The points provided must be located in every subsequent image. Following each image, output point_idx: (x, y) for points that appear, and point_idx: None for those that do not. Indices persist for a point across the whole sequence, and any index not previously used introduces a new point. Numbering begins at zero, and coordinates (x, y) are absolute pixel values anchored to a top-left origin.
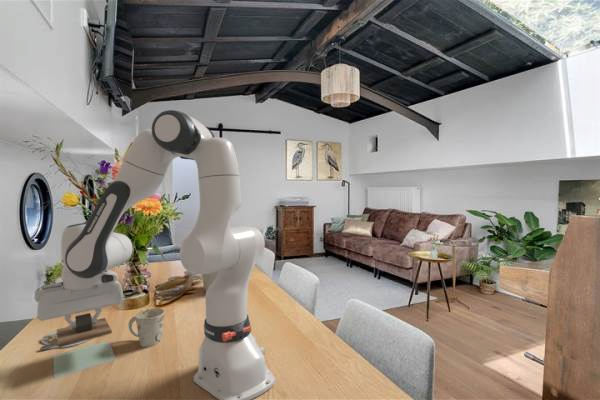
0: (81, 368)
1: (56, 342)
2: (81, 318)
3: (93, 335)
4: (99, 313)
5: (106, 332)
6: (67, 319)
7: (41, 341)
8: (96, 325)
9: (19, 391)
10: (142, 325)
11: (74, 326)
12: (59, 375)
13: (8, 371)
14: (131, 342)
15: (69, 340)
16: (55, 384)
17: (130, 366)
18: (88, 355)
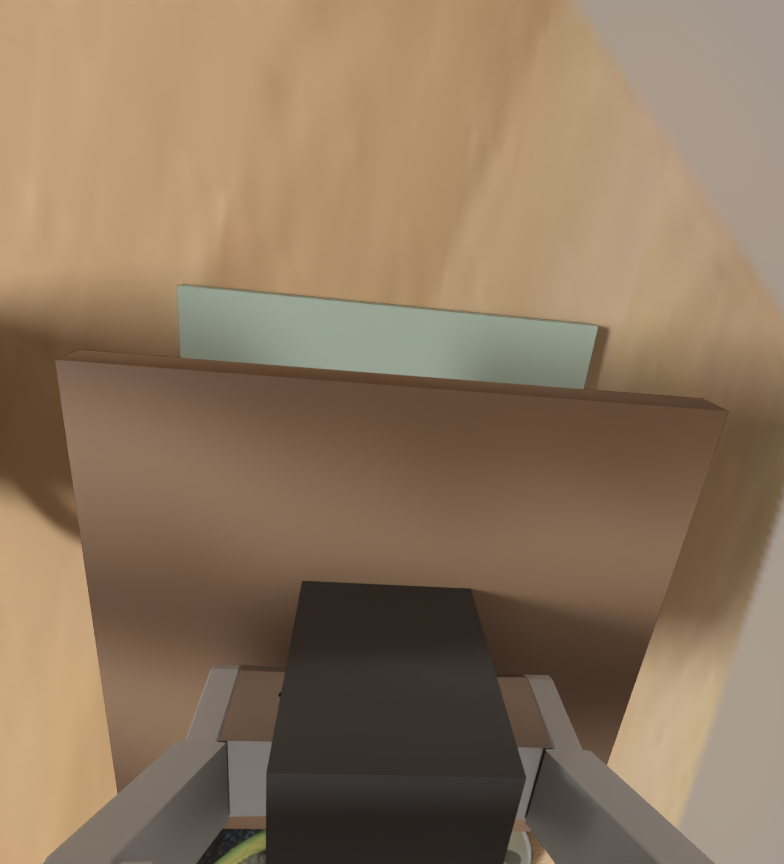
0: (425, 337)
1: None
2: (438, 788)
3: (315, 378)
4: (106, 815)
5: (136, 362)
6: (667, 850)
7: (530, 854)
8: None
9: (767, 349)
10: None
11: (510, 698)
12: (562, 348)
13: (725, 642)
14: (41, 521)
15: (596, 443)
16: (599, 264)
17: (86, 81)
18: None
